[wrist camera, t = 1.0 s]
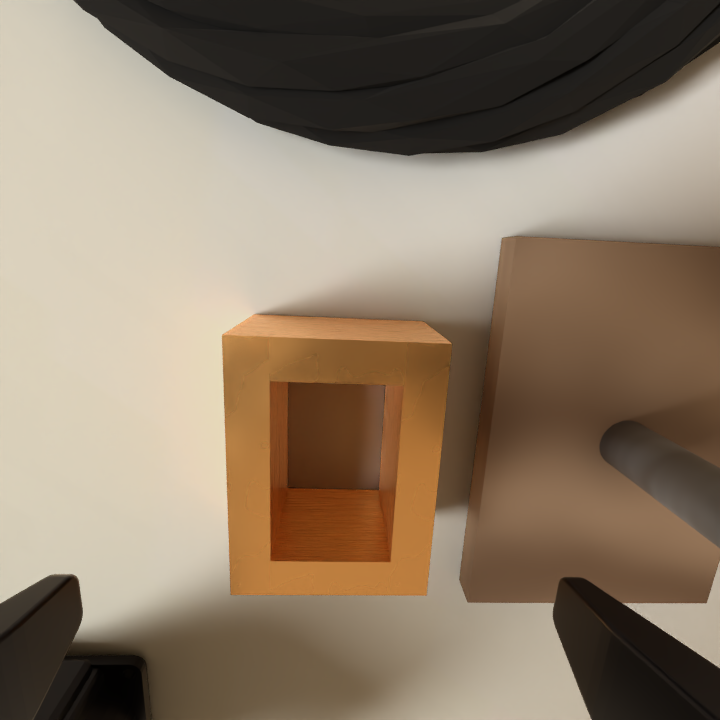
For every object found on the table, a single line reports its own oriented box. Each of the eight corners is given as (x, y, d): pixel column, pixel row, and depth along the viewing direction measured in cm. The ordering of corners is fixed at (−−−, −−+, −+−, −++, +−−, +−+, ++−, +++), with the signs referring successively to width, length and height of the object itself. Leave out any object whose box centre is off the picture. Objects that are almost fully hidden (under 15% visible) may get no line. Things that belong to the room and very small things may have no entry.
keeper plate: (683, 580, 18) (894, 780, 11) (459, 579, 17) (536, 788, 11) (774, 252, 15) (1157, 246, 8) (502, 238, 14) (654, 218, 7)
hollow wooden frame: (406, 517, 17) (426, 595, 13) (256, 514, 16) (230, 594, 12) (423, 321, 15) (452, 344, 11) (254, 314, 14) (222, 335, 11)
